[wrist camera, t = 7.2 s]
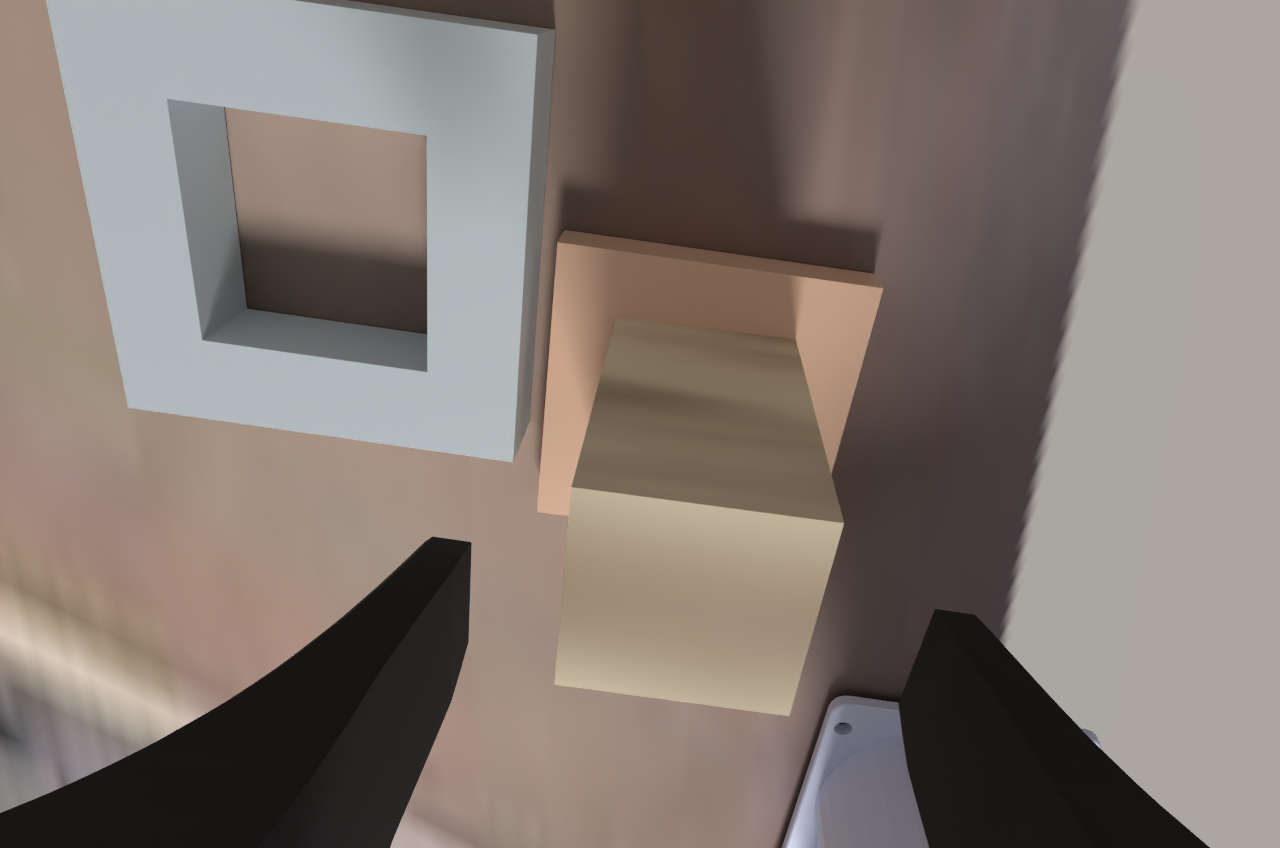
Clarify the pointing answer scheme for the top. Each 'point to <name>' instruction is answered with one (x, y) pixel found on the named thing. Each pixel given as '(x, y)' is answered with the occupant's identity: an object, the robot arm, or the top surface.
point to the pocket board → (207, 224)
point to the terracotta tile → (695, 296)
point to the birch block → (697, 521)
